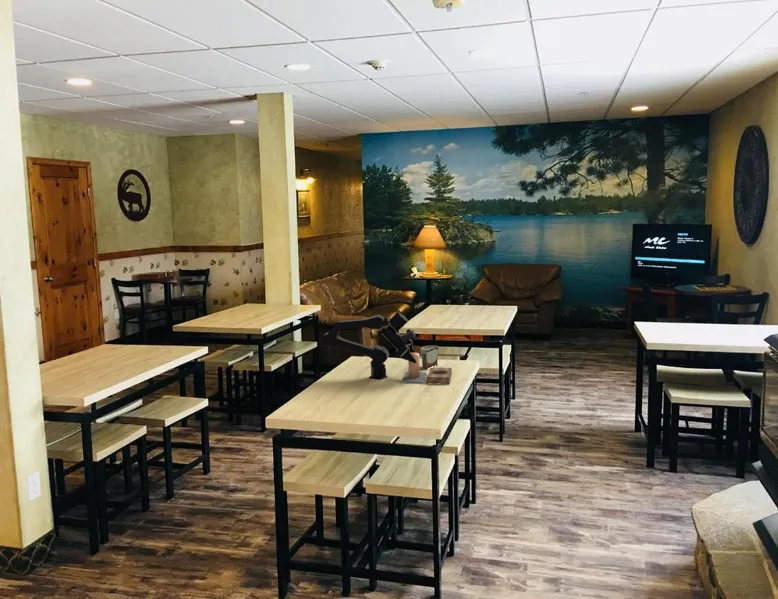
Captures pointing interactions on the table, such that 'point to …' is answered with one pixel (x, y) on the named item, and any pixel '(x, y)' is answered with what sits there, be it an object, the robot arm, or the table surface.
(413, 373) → the pink tall rounded piece
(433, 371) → the well block
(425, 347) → the food container
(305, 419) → the table surface
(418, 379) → the mat
